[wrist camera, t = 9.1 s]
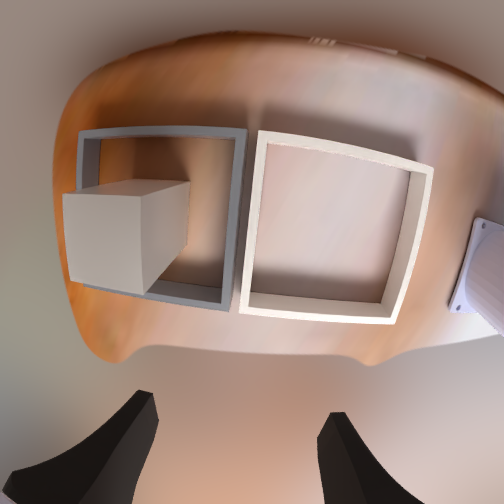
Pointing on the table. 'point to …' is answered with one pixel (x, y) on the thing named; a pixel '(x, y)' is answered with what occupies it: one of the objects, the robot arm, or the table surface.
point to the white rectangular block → (125, 232)
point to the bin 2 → (402, 258)
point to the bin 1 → (223, 296)
